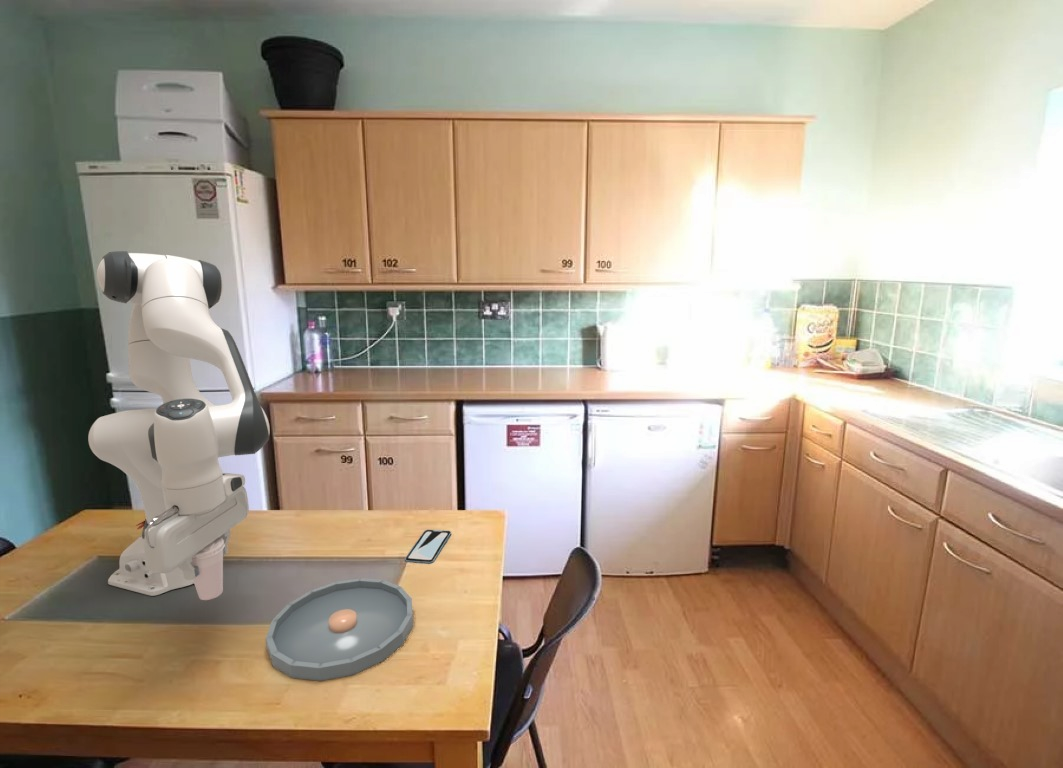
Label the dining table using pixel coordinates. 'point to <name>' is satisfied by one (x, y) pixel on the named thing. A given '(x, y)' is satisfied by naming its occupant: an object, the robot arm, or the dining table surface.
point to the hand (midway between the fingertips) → (207, 566)
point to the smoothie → (209, 570)
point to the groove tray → (340, 629)
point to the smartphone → (428, 546)
